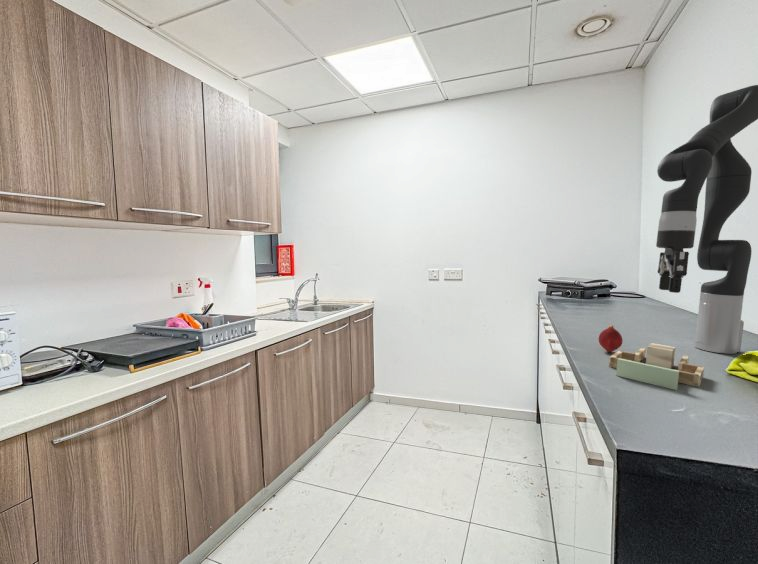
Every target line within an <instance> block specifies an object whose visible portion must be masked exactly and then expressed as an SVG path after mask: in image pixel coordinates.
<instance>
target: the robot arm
mask: <svg viewBox="0 0 758 564" xmlns="http://www.w3.org/2000/svg"><path fill="white" fill-rule="evenodd" d="M757 120H758V84H753V85H750V86H749V85H748V86H747V87H743V88H739V89H736V90H733V91H730V92H727V93H724V94H720V95H718V96H717V97H715V98H714V99H713V101H712V102H711V105H710V110H709V124H706V125H705V126H703V127H702V128H700V130H698V131H697V132H696V133H695V134H694V135H693V136H692V137H691V138H690V139H689V140H688V141H687V142H686V143H684V144H682V145H680V146H678V147H677V148H675V149H674V150H672V151H670V152H669V153H667V154H666V155H665V156H664V157H663V158H662V159H661V160H660V162H659V164H658V166H657V170H656V172H657V176H658V177H659V179H660V180H662V181H663V182H668V183H669V182H670V183H671V182H679V181H684V182H682V184H681V185H680V186H678V187H676V188H673V189H670V190H668V191H666V192H665V193H664V194H663V196H662V204H661V212H660V217H659V220H658V227H657V237H656V242H655V243H656V244H655V245H656V246H655V247H657V249H658V248H659V249H664V252H663V251H662V252H660V253H659V261H658V269H657V274H659V284H658V285H659V286H658V289H659V290H661V291H668V292H669V293H675V294H679V293H680V292H681V288H682V281H683V278H684V277H686V276H687V274H688V265H689V264H688V263H689V255H690V253H689V251H684V249H685V250H686V249H693V248H694V245H695V236H696V229H697V210H698V204H699V203H698V201H699V196H700V194H701V191H702V189H703V186H704V184H705V196H704V197H705V198H704V210H703V220H702V225H701V232H700V236H699V243H698V248H697V255H696V260H697V261H696V262H697V265H698V267H699V269H701V270H703V271H716V272H717V271H718V272H719V271H720V272H726V274H725V276H723V277H722V278H719V279H716V280H712V281H708V282H703V283H702V284H701V286H700V295H699V302H698V303H699V305H698V311H697V320H696V321H697V322H696V330H695V340H694V347H695V348H696V349H699V350H703V351H706V352H707V351H708V352H710V353H711V352H713V353H719V354H729V355H731V354H732V355H734V354H735V355H736V354H737V352H740V353H741V350H742V349H741V348H742V339H743V334H744V333H743V332H744V323H745V322H744V321H743V320H741V319H742V311H743V303H744V295H745V289H746V286H747V281H748V274H749V269H750V264H751V259H752V246H751V243H750V242H749V241H748V240H745V239H719V238H720V234H721V231H722V228H723V226H724V224H725V223H726V222H727V220H728V219H729V218H730V217H731V215H732V214H733V213H734V212H736V210H737V209H738V208H739V207H740V206H741V205H742V203H743V202H745V200H746V199H747V198H748V196H749V194H750V190H751V183H752V167H751V165H750V164H749V163H748V161H747V160H746V159H745V157H743V155H742V154H741V153H740V152H739V151H738V150H737V148H736V147H735V146H734V145H733V142H732V138H733V137H735V136H736V135H737V134H738V133H740V132H741V131H743V130H745V129H746V128H747V127H748V126H750V125H751V124H752V123H754V122H755V121H757ZM705 181H706V183H705Z"/></svg>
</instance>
